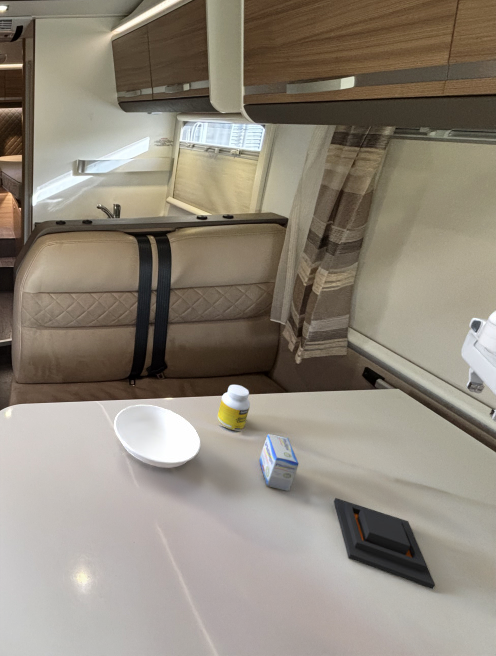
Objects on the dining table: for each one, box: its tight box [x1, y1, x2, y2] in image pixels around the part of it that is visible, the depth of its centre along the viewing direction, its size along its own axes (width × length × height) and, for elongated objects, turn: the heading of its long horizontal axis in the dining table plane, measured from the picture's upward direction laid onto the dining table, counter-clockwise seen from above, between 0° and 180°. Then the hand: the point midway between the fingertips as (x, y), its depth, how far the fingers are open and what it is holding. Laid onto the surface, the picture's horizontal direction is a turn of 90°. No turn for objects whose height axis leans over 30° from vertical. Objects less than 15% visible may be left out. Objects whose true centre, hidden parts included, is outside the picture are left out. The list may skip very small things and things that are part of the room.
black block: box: [357, 508, 410, 555], centre depth 83 cm, size 6×6×3 cm
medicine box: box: [258, 433, 299, 492], centre depth 97 cm, size 8×4×9 cm, turn 161°
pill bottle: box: [216, 384, 251, 434], centre depth 112 cm, size 6×6×12 cm
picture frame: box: [333, 497, 436, 590], centre depth 84 cm, size 12×14×3 cm
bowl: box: [113, 404, 201, 469], centre depth 105 cm, size 20×20×6 cm
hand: (484, 404), depth 81 cm, fingers open, 8 cm apart
